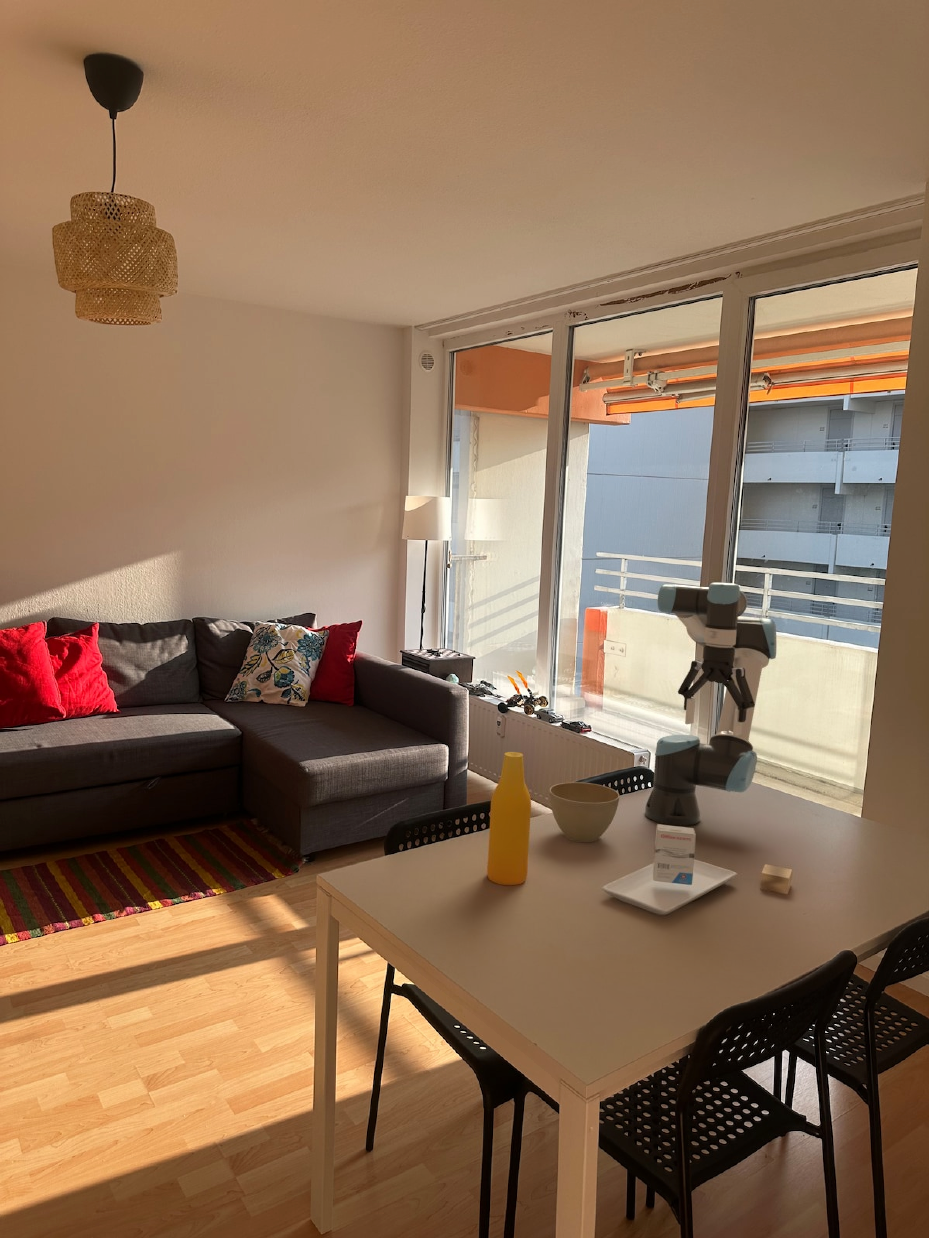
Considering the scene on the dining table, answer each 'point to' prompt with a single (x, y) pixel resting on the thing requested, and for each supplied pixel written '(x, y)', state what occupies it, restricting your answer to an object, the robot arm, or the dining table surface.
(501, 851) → the beer bottle
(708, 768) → the robot arm
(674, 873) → the ink box
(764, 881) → the oak block
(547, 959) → the dining table surface
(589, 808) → the beige round bowl
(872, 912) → the dining table surface
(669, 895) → the tray
